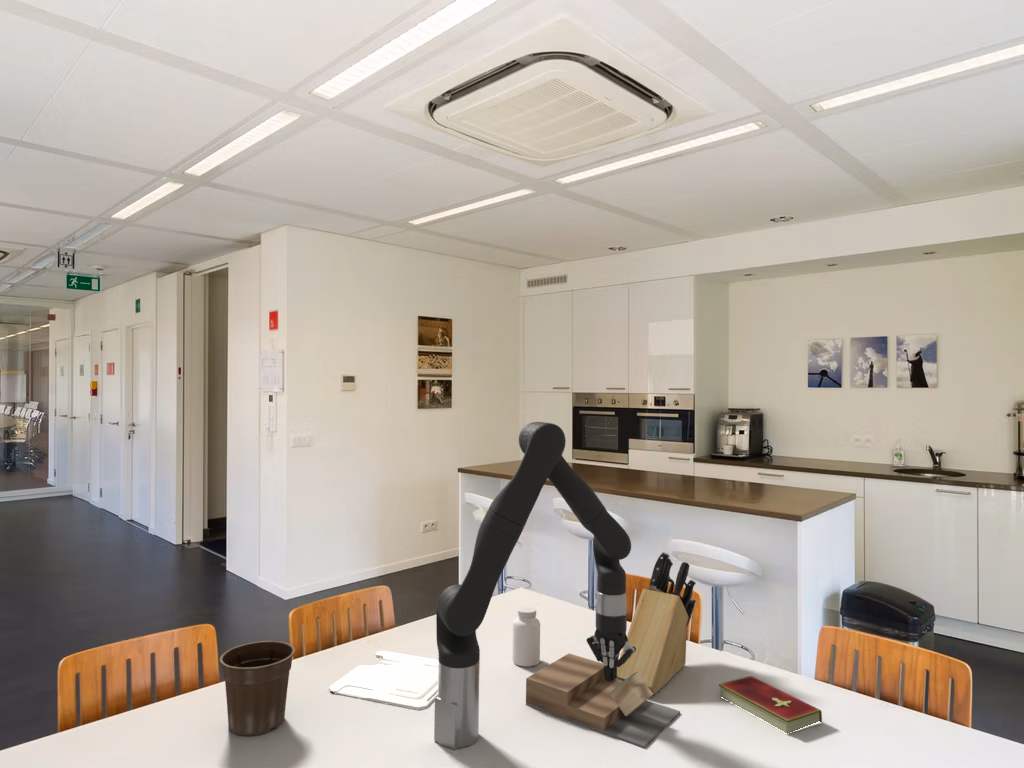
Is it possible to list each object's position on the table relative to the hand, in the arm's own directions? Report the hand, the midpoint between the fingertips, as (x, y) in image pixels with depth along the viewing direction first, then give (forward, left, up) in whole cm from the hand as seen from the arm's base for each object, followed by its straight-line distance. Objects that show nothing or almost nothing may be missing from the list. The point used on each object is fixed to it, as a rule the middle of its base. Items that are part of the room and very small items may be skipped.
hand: (610, 680), depth 159 cm
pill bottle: (+11, +33, -8) cm, 36 cm away
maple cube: (0, -3, 0) cm, 4 cm away
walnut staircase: (0, +2, -7) cm, 8 cm away
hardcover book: (+25, -30, -8) cm, 40 cm away
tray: (-19, +53, -8) cm, 57 cm away
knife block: (+29, +1, -8) cm, 30 cm away
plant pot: (-57, +62, -8) cm, 84 cm away
